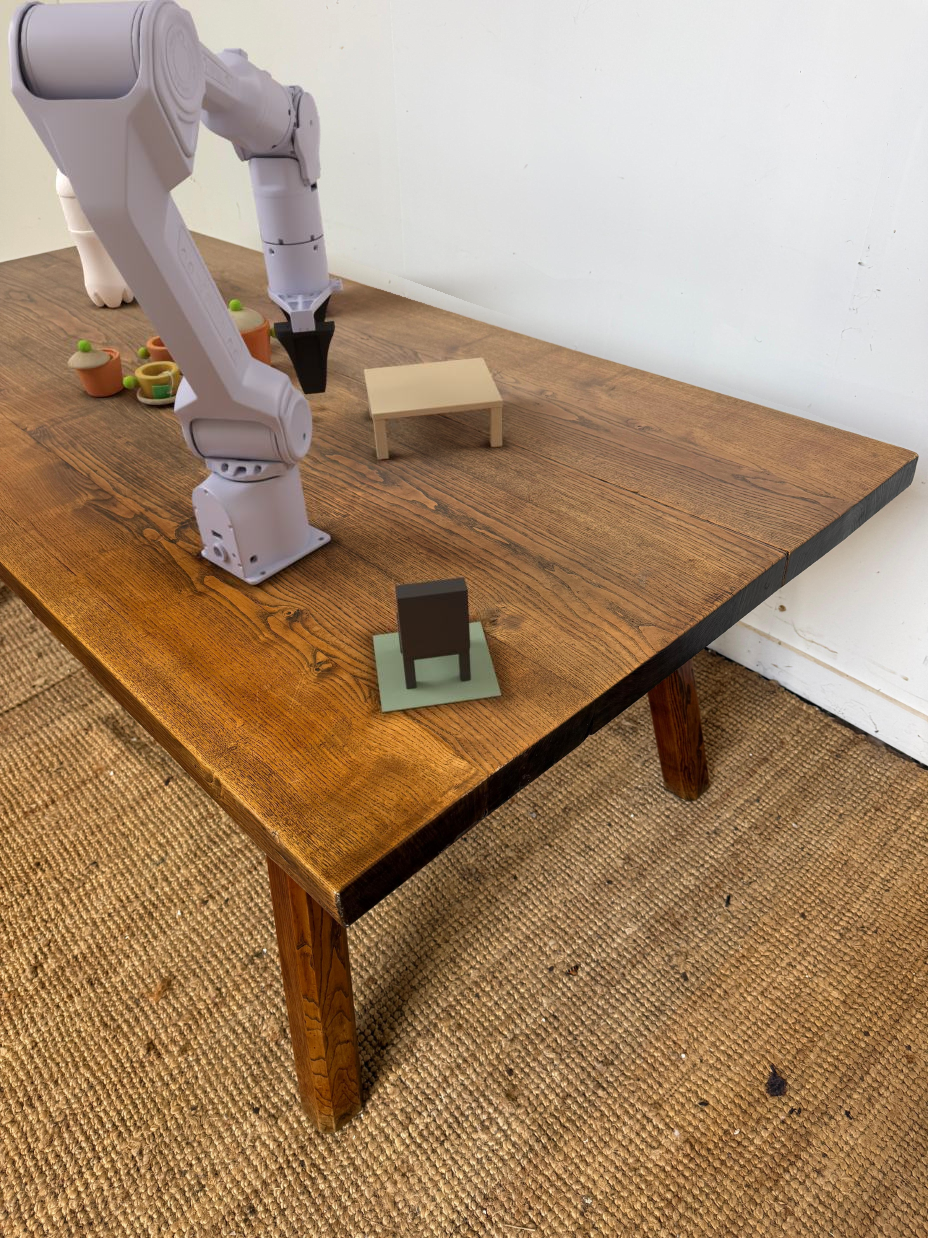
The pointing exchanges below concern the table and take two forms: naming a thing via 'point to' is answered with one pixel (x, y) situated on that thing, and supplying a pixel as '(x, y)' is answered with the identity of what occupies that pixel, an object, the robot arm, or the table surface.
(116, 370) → the toy tea set
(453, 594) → the toy chair
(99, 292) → the water bottle
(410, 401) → the side table
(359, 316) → the table surface
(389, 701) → the mat
